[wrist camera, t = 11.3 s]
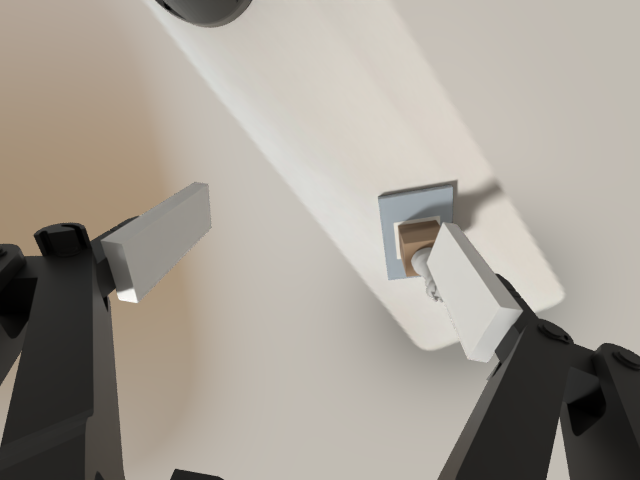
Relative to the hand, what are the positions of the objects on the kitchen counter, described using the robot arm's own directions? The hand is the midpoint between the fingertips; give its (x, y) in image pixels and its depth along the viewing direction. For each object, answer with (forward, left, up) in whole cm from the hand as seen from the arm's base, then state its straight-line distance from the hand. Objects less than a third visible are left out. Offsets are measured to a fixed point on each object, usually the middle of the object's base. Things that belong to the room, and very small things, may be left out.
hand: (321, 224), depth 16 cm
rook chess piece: (+18, +10, -22) cm, 30 cm away
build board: (+18, +10, -29) cm, 35 cm away
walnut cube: (+18, +10, -27) cm, 34 cm away
